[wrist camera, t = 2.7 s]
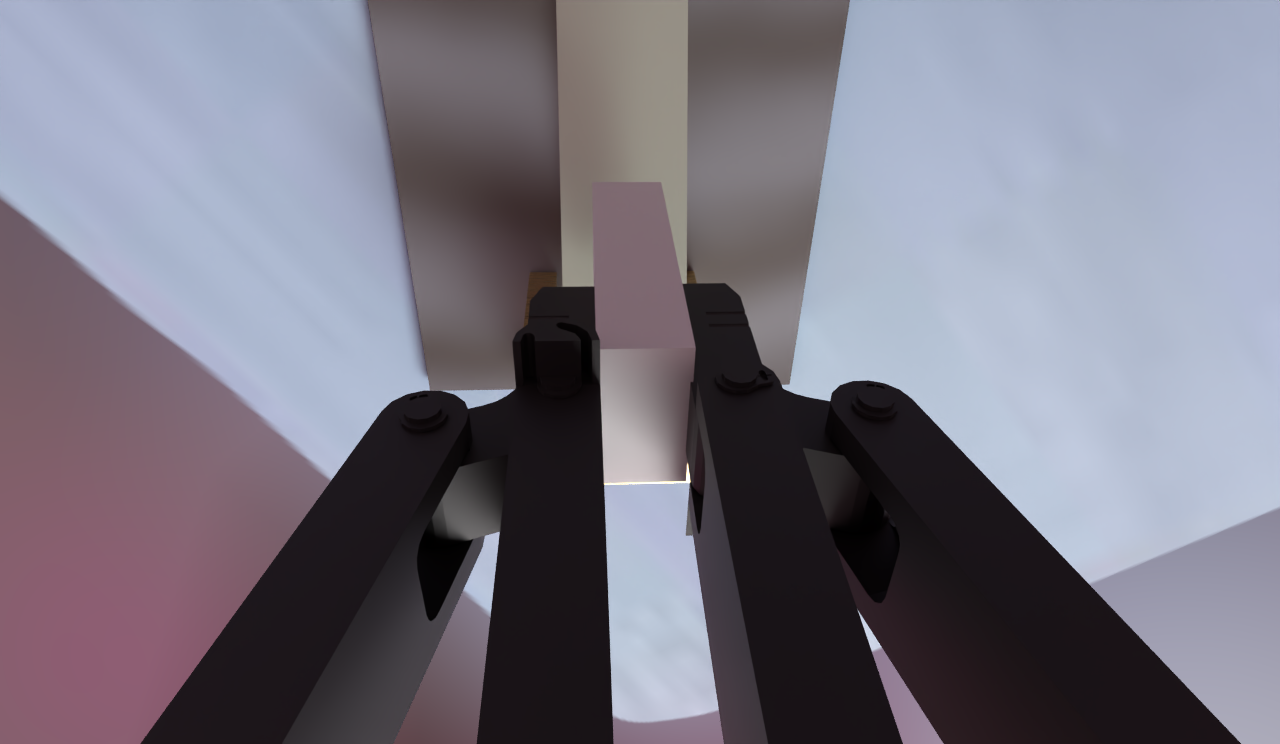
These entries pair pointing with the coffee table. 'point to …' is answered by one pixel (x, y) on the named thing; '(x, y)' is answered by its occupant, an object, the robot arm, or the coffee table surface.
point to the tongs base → (530, 163)
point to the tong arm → (620, 114)
